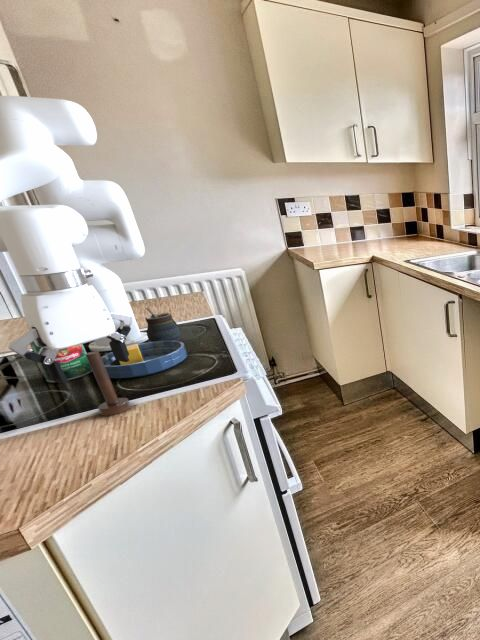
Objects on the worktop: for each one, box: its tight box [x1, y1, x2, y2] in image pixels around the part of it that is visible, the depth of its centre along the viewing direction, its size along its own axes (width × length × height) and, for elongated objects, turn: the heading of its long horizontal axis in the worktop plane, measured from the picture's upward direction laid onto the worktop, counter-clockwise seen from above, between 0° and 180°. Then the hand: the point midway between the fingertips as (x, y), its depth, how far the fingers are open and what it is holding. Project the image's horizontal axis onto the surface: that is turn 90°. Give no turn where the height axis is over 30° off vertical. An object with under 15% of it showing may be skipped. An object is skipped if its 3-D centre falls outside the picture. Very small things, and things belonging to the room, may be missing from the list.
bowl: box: [101, 340, 188, 379], centre depth 101 cm, size 16×16×4 cm
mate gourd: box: [144, 307, 182, 342], centre depth 114 cm, size 7×8×10 cm
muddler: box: [86, 351, 131, 417], centre depth 79 cm, size 4×4×12 cm
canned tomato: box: [29, 341, 93, 383], centre depth 96 cm, size 8×8×11 cm
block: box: [119, 344, 143, 365], centre depth 101 cm, size 4×4×4 cm
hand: (93, 370), depth 79 cm, fingers open, 9 cm apart
